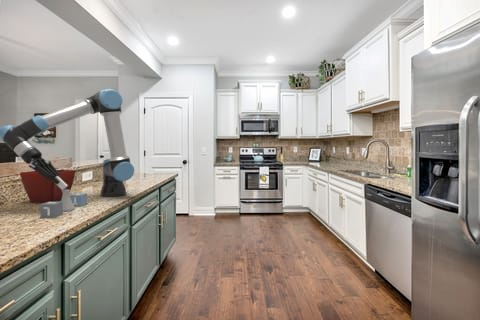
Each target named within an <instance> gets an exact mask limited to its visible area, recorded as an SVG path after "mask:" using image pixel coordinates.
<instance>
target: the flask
mask: <svg viewBox="0 0 480 320" xmlns="http://www.w3.org/2000/svg"><path fill="white" fill-rule="evenodd" d="M69 191H70V192H71V190H62V192H63V195H62V199H61V200H60V202H63V213H65V212H71V211H72V212H73V211H74V210H76V207H74V205H73V203H72V201H71V198H70V195H71V194H70V193H69Z"/></svg>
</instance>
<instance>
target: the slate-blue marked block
mask: <svg viewBox="0 0 480 320" xmlns="http://www.w3.org/2000/svg"><path fill="white" fill-rule="evenodd" d="M69 195H70V198H71V201H72V203H73V205H74V207H75V208H76V207H79V208H81V207H84V206H86V205H88V193H85V192H84V193H83V192H82V193H81V192H77V193H76V192H75V193H72V194H69Z"/></svg>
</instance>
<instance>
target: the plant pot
mask: <svg viewBox="0 0 480 320" xmlns="http://www.w3.org/2000/svg"><path fill="white" fill-rule="evenodd" d="M56 170H57V171H58V173H59V174H60V175H59V177H60V178H61V179H62V180H63V181H64V182H65V183H66V184H67V185H68V186H67V187H66V188H65V189H64V190H70V191H69V194H71V193H70V192H71V190H72V187H73V183H74V182H75V181H74V180H75V176H76V169H56ZM19 175H20V179H21V182H22V185H23V188H24V191H25V192H26V195H27V197H28V199H29V200H30V202H32V203H46V202H60V201H61V199H62V195H63V192H62V189H61V188H60V187H59V186H57V185H56V184H55V183H54V182H53V181H52V180H51V181H49V180H50V179H48V180H47V179H46V178H44V177H43V176H42V175H40V174H39V173H38V172H36V171H35V170H31V171H20V172H19Z"/></svg>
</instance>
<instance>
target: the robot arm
mask: <svg viewBox="0 0 480 320" xmlns="http://www.w3.org/2000/svg"><path fill="white" fill-rule="evenodd" d="M122 104H123V96H122V95H121V93H120V92H118V91H117V90H116V89H113V88H104V89H102V90H101V91H98V92H96V93H95V94H93V95H91V96H89V97H87V98H84V99H83V101H80V102H78V103H75V104H72V105H69V106H66V107H64V108H60V109H58V110H55V111H52V112H49V113H47V114H43V115H36V116H33V117H31V118H30V119H28V120H26V121H24V122H22V123H20V124H19V125H17V126H14V125H11V124H7V125H4V126H2V127H0V139H1V141H3V143H5V144H6V145H7V146H8V147H9V148H10V149H11V150H12V151H13V152H14V153H15V154H16V155H17V156H18V157H20V158H21V159H22V161H23V162H24V163H26V164H29V165H28V167H29V168H30V169H32V170H33V171H36V172H38V173H39V174H40V175H42V176H43V177H44V178H46V179H47V180H48V179H50V180H49V181H51V180H52V181H53V182H54V183H55V184H56V185H57V186H59V187H60V188H61V189H62V190H64V189H65V188H66V187H67V186H68V185H67V184H66V183H65V182H64V181H63V180H62V179H61V178H60V177H59V175H60V174H59V173H58V171H57V170H58V169H56V167H54V165H53V164H52V161H50V160H48V161H46V159H44V158H43V157H42V155H43V153H42V152H41V151H40V150H39V149H38V148H36V146H35V145H34V144H33V143H32V142H31V141H29V140H30V139H31V138H33V137H35V136H37V135H38V134H41V133H42V132H45V131H47V130H49V129H52V128H55V127H58V126H60V125H64V124H66V123H68V122H71V121H74V120H76V119H79V118H81V117H85V116H87V115H90V114H91V115H94V114H98V113H99V114H100V116H102V117H103V120H104V127H105V133H106V137H107V139H106V140H107V143H108V144H107V145H108V149H109V154H110V158H107V159H104V160H103V161H102V172H103V173H102V180H103V181H102V182H103V183H102V186H101V189H100V194H99V195H100V197H105V198H106V197H107V198H108V197H109V198H110V197H113V198H114V197H120V196H121V197H122V196H125V195H127V189H126V186H125V184H124V182H126V181H129V180H131V178H132V177H134V175H135V167H134V165H133V164H132V163H131V159H130V156H129V155H127V152H126V147H125V145H126V144H125V139H124V134H123V127H122V123H121V118H120V115H121V114H122Z"/></svg>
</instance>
